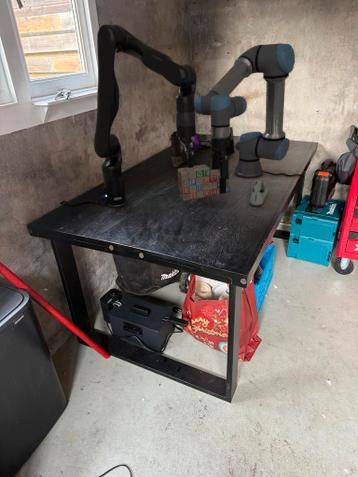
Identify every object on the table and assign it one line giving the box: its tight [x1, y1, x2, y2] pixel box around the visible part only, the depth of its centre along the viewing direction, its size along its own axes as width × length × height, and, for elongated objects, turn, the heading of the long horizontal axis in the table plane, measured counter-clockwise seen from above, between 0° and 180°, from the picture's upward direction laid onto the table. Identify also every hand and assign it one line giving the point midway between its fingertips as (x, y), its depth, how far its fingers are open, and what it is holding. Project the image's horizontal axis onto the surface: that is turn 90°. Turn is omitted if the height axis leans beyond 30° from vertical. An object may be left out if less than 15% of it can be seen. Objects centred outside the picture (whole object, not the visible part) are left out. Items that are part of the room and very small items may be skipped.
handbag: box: [210, 126, 235, 159], centre depth 218 cm, size 21×9×25 cm, turn 148°
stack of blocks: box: [177, 164, 231, 201], centre depth 140 cm, size 21×6×12 cm, turn 105°
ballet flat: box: [249, 179, 269, 207], centre depth 158 cm, size 8×24×8 cm, turn 163°
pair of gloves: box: [199, 134, 212, 149], centre depth 251 cm, size 30×26×5 cm
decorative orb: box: [191, 132, 202, 153], centre depth 230 cm, size 15×15×15 cm
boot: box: [169, 130, 184, 168], centre depth 211 cm, size 9×24×20 cm, turn 168°
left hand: (187, 164), depth 134 cm, fingers open, 8 cm apart
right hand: (219, 190), depth 144 cm, fingers closed on stack of blocks, 6 cm apart
